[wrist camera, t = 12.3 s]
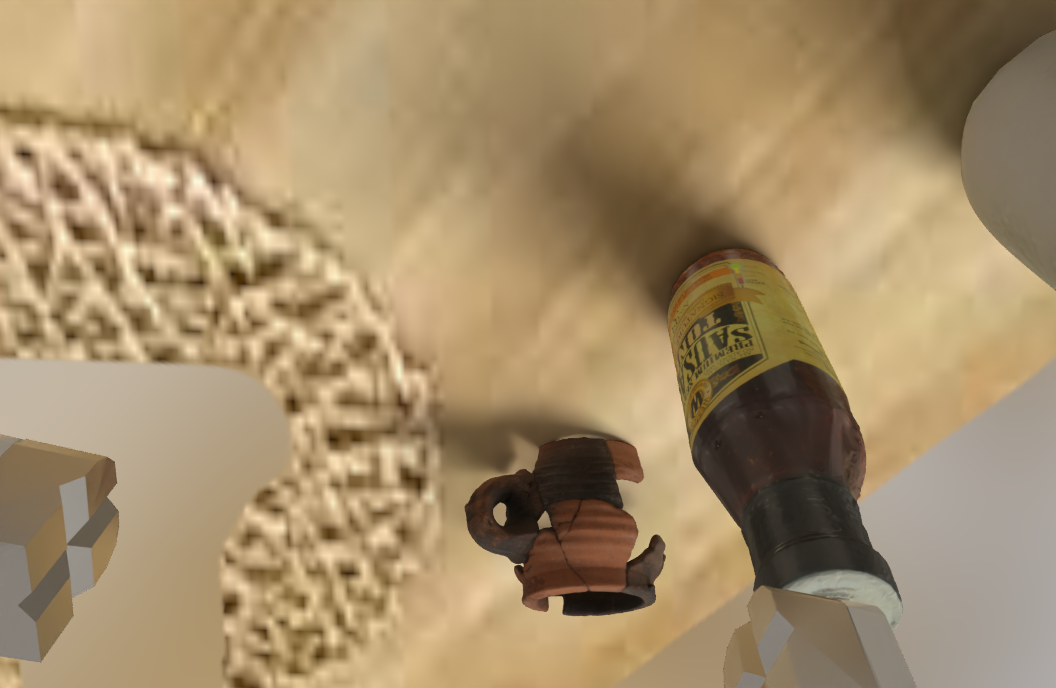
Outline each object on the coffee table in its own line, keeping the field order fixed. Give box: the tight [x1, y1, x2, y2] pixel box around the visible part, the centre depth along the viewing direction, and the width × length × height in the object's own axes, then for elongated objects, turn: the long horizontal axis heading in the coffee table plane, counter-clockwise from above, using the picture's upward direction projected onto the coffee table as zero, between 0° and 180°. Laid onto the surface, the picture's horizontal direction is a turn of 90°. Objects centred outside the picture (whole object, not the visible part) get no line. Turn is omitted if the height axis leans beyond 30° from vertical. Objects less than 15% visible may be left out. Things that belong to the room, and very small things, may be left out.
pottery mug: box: [465, 437, 666, 616], centre depth 45 cm, size 12×10×8 cm
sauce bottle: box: [667, 248, 903, 631], centre depth 32 cm, size 6×6×20 cm
